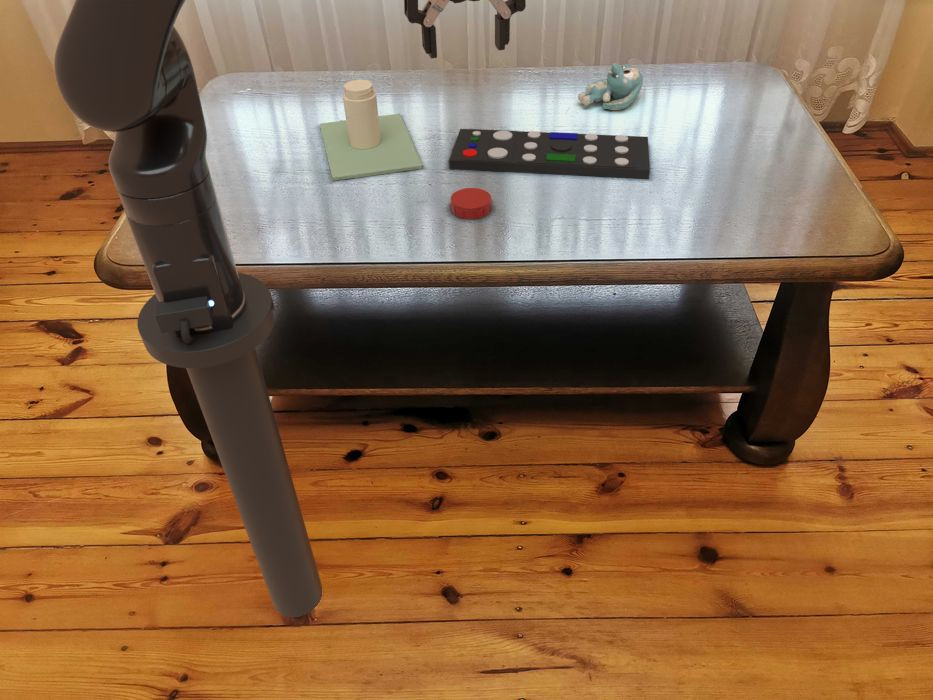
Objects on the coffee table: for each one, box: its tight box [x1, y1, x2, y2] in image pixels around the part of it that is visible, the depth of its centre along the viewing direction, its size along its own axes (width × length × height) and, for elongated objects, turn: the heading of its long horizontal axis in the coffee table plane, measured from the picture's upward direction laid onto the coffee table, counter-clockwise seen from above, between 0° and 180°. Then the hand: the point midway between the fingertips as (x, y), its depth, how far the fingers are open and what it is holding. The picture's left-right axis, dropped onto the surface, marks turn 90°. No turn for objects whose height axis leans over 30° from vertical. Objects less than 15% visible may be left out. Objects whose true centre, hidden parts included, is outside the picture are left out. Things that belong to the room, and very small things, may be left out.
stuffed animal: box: [577, 62, 644, 111], centre depth 131 cm, size 11×7×12 cm
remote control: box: [448, 128, 651, 180], centre depth 117 cm, size 11×30×2 cm, turn 81°
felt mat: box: [319, 113, 424, 182], centre depth 122 cm, size 20×14×1 cm
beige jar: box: [342, 79, 381, 149], centre depth 119 cm, size 5×5×10 cm
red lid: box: [449, 187, 492, 220], centre depth 106 cm, size 6×6×2 cm
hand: (466, 52), depth 92 cm, fingers open, 8 cm apart
